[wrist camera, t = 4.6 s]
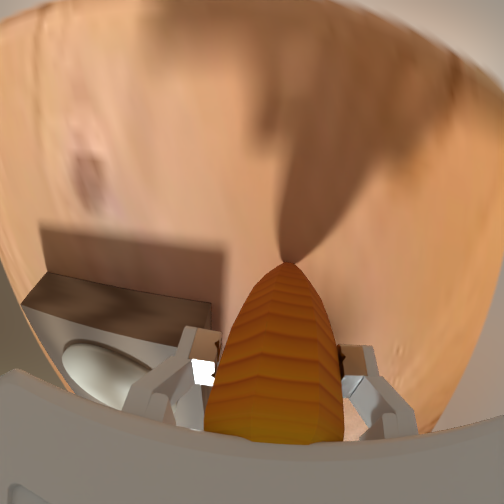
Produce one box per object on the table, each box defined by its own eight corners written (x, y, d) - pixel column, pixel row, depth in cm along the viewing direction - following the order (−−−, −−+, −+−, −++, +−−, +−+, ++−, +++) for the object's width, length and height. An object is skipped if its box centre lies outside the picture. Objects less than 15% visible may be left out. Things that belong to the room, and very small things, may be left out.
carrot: (325, 220, 15) (337, 578, 3) (334, 293, 17) (337, 562, 5) (234, 235, 16) (128, 542, 4) (256, 302, 19) (203, 551, 6)
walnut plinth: (211, 303, 19) (195, 357, 15) (213, 400, 27) (205, 438, 23) (47, 272, 20) (17, 308, 16) (92, 370, 27) (77, 402, 24)
